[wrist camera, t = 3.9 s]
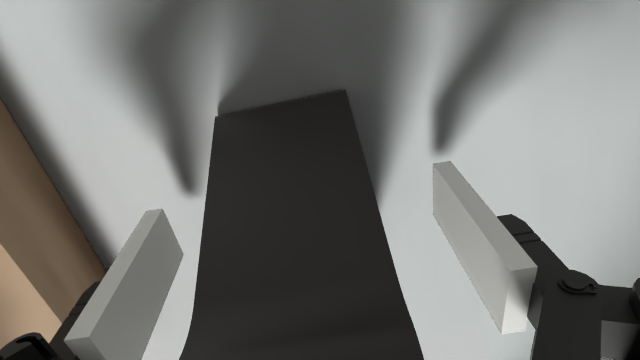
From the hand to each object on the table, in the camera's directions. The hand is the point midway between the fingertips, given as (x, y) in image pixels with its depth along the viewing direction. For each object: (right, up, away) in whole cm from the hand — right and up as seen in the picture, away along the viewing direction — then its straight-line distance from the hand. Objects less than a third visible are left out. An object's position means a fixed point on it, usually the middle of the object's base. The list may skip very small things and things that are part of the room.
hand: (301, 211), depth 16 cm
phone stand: (0, +1, +2) cm, 3 cm away
